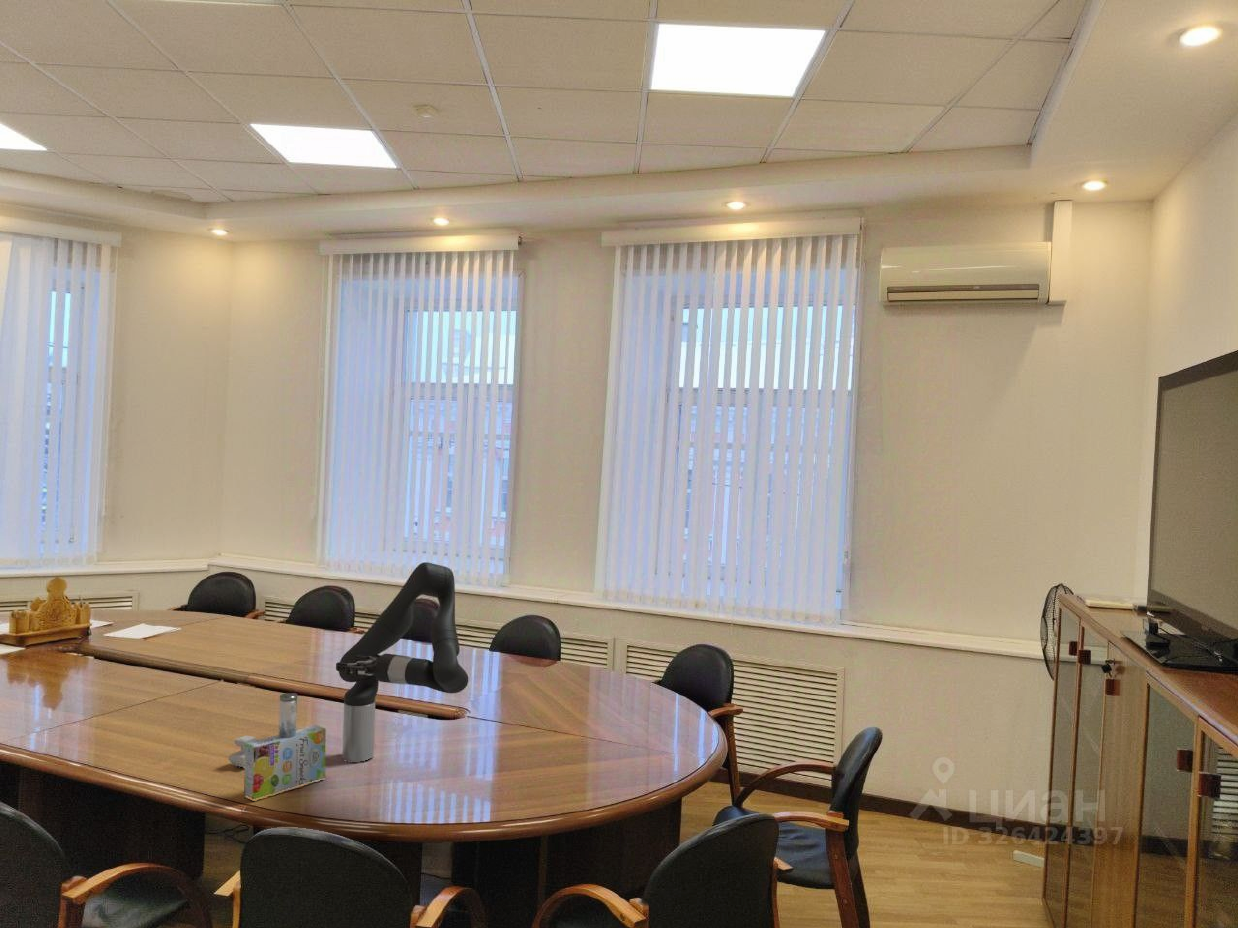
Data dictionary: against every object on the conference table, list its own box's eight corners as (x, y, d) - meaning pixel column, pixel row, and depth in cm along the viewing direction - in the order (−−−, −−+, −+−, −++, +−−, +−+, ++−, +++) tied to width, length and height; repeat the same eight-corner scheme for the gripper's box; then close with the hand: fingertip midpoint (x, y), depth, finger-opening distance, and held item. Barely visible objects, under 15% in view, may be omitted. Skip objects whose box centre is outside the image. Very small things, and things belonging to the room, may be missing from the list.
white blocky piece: (265, 764, 245) (266, 736, 244) (246, 772, 239) (247, 743, 238) (243, 759, 248) (244, 731, 248) (224, 766, 242) (225, 738, 242)
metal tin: (282, 731, 230) (283, 692, 230) (298, 732, 230) (299, 693, 230) (275, 737, 226) (277, 697, 226) (292, 737, 226) (294, 697, 226)
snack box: (315, 775, 238) (316, 723, 238) (325, 780, 234) (327, 728, 234) (242, 797, 222) (244, 741, 222) (253, 803, 218) (254, 746, 218)
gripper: (412, 649, 228) (362, 643, 233) (382, 661, 214) (330, 654, 219) (411, 676, 228) (362, 670, 233) (381, 689, 214) (329, 682, 219)
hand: (346, 662), depth 226 cm, fingers open, 8 cm apart
